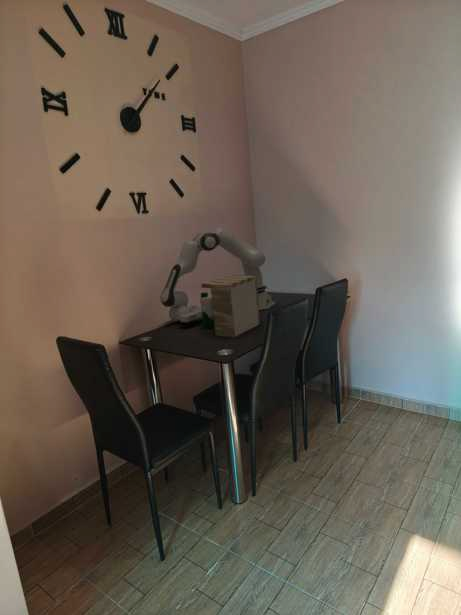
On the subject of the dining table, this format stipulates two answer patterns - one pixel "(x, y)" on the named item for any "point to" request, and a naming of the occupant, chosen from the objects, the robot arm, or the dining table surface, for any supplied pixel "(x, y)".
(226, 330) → the wooden shelf
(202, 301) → the milk carton
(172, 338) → the dining table surface
